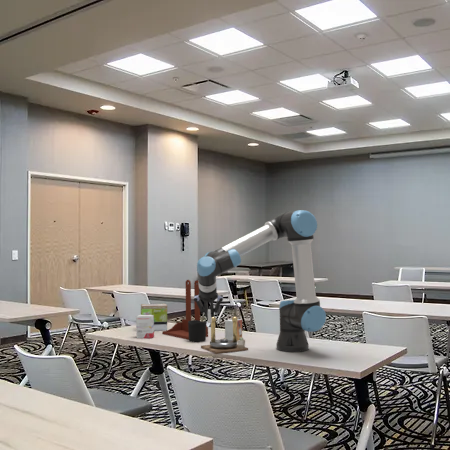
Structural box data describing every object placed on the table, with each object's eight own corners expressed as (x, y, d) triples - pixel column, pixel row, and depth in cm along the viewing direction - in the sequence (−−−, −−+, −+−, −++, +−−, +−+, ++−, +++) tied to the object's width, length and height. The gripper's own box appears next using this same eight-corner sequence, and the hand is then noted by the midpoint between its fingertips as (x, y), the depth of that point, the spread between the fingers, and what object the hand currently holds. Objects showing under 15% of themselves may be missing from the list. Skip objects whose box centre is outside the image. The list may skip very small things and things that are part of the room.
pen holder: (204, 338, 283) (204, 319, 283) (208, 342, 274) (207, 322, 274) (186, 339, 281) (186, 320, 281) (189, 343, 272) (189, 323, 272)
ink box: (154, 336, 290) (154, 314, 290) (151, 338, 285) (151, 316, 286) (139, 336, 292) (139, 314, 292) (135, 338, 287) (135, 315, 287)
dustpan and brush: (162, 334, 299) (162, 280, 300) (181, 331, 307) (181, 278, 308) (188, 340, 281) (188, 282, 281) (208, 337, 289) (207, 281, 290)
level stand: (248, 350, 252) (248, 337, 252) (216, 354, 244) (216, 341, 244) (231, 344, 267) (231, 332, 267) (200, 347, 259) (200, 335, 259)
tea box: (141, 331, 308) (141, 305, 308) (140, 329, 317) (140, 303, 318) (167, 330, 311) (167, 304, 311) (166, 327, 320) (165, 302, 321)
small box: (233, 342, 273) (233, 321, 274) (224, 340, 277) (224, 320, 277) (242, 339, 280) (242, 319, 280) (233, 338, 283) (233, 318, 283)
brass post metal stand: (238, 343, 262) (238, 314, 263) (237, 348, 249) (237, 318, 249) (210, 343, 263) (210, 314, 263) (209, 348, 249) (208, 318, 250)
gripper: (191, 293, 227) (195, 327, 243) (222, 293, 227) (224, 327, 243) (193, 279, 233) (196, 313, 249) (223, 280, 232) (224, 314, 248)
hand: (210, 320), depth 246 cm, fingers closed
